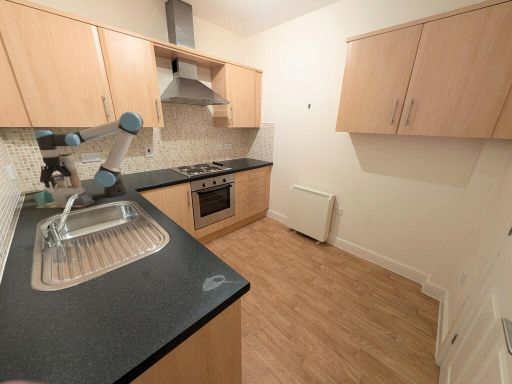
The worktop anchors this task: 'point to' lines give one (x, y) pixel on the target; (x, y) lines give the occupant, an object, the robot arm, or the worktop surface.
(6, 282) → the worktop surface
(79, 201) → the sleeve
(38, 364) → the worktop surface
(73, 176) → the vase
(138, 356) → the worktop surface
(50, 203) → the board
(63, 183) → the coffee box
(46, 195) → the socket
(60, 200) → the tube
